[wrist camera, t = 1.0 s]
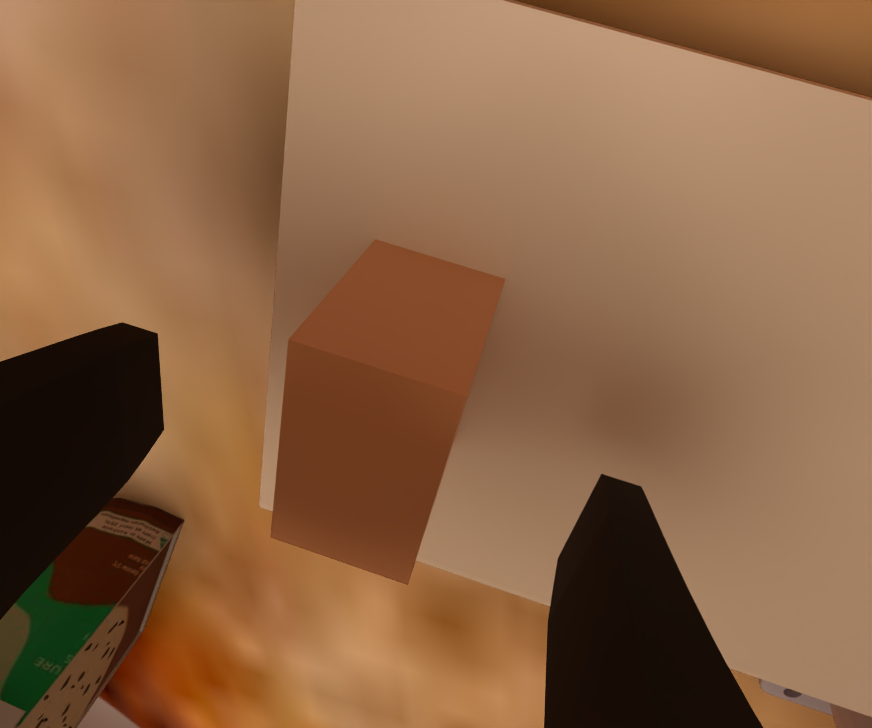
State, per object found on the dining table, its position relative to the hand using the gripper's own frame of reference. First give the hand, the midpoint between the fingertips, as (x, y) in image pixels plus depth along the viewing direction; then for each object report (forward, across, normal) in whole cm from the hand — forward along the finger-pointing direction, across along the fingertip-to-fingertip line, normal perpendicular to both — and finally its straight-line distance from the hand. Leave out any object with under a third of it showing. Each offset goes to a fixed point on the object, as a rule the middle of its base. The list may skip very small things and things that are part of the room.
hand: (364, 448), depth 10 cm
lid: (+4, -5, 0) cm, 7 cm away
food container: (+7, +12, +17) cm, 22 cm away
